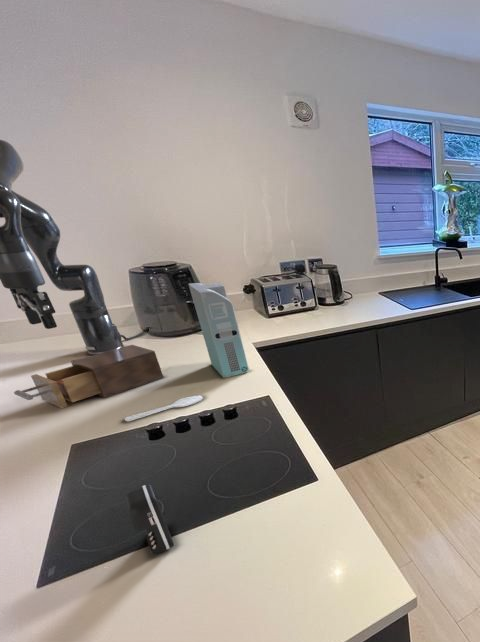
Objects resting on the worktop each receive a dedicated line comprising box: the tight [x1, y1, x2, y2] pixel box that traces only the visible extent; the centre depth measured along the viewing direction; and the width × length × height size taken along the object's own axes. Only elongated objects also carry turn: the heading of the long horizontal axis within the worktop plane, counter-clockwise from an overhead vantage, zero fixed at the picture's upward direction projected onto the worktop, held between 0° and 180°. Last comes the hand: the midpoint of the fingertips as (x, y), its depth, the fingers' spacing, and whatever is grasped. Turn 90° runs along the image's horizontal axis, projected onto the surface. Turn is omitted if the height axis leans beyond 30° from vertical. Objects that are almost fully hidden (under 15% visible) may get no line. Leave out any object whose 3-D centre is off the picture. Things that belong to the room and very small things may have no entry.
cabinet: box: [70, 344, 164, 398], centre depth 129 cm, size 16×13×10 cm
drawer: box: [13, 365, 101, 409], centre depth 118 cm, size 20×12×8 cm, turn 157°
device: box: [188, 282, 250, 379], centre depth 138 cm, size 16×8×30 cm, turn 47°
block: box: [55, 376, 72, 397], centre depth 119 cm, size 4×4×4 cm
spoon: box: [124, 394, 204, 422], centre depth 116 cm, size 5×18×1 cm, turn 141°
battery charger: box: [124, 483, 175, 555], centre depth 71 cm, size 7×4×11 cm, turn 48°
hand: (43, 325), depth 113 cm, fingers open, 8 cm apart
